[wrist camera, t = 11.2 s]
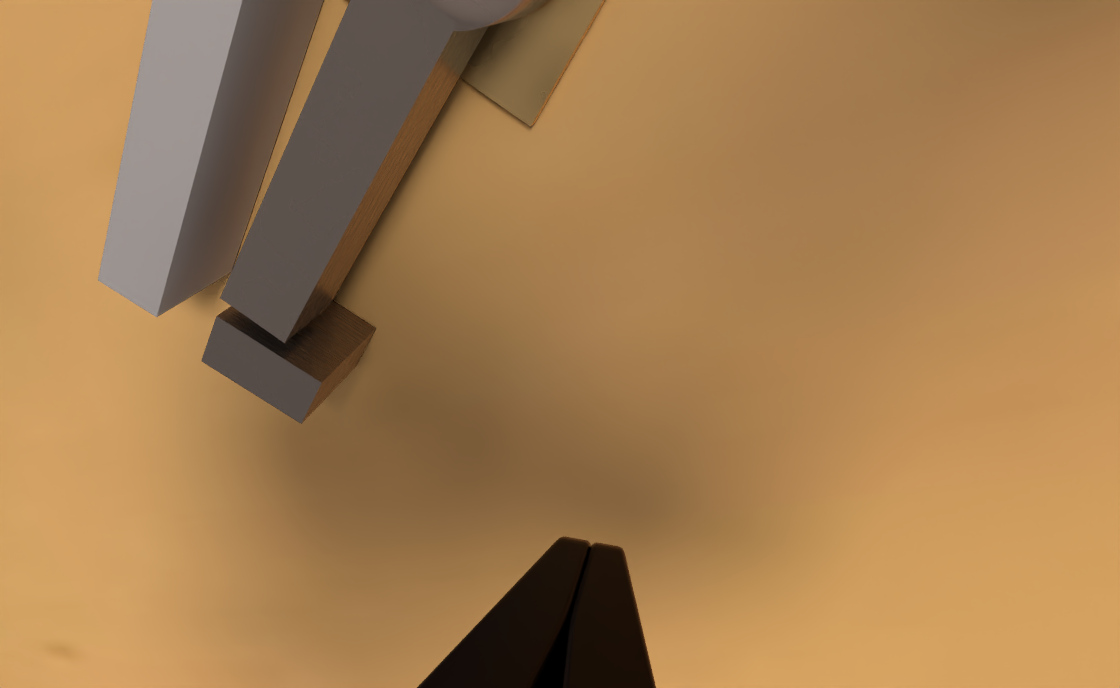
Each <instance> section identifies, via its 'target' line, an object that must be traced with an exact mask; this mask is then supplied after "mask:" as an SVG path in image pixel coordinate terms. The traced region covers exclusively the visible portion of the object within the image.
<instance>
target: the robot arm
mask: <svg viewBox="0 0 1120 688" xmlns="http://www.w3.org/2000/svg"><path fill="white" fill-rule="evenodd" d="M417 688H656V686H655V681H654V677H653V673H652V669H651V664H650V660H649V656H648V651H647V647H646V643H645V639H644V634H643V630H642V626H641V621H640V617H639V613H638V609H637V604H636V600H635V596H634V591H633V587H632V583H631V579H630V574H629V570H628V566H627V561H626V557H625V553H624V551H623V549H622V548H621V547H619V546H613V545H608V544H603V543H594V544H593V545H592V546H591V544H590V543H589V542H588V541H586V540H581V539H576V538H570V537H561V538H559V539H558V540H557V541H556V542H555V543H554V544H553V545H552V546H551V547H550V548H549V549H548V550H547V551H546V552H545V553H544V554H543V556H542V557H541V558H540V559H539V560H538V561H537V562H536V563H535V564H534V565H533V566H532V567H531V568H530V569H529V570H528V571H527V572H526V573H525V574H524V576H523V577H522V578H521V579H520V580H519V581H518V582H517V583H516V584H515V585H514V586H513V587H512V588H511V589H510V590H509V591H508V592H507V593H506V594H505V596H504V597H503V598H502V599H501V600H500V601H499V602H498V603H497V604H496V605H495V606H494V607H493V608H492V609H491V610H490V611H489V612H488V613H487V615H486V616H485V617H484V618H483V619H482V620H481V621H480V622H479V623H478V624H477V625H476V626H475V627H474V628H473V629H472V630H471V631H470V632H469V633H468V635H467V636H466V637H465V638H464V639H463V640H462V641H461V642H460V643H459V644H458V645H457V646H456V647H455V648H454V649H453V650H452V651H451V652H450V654H449V655H448V656H447V657H446V658H445V659H444V660H443V661H442V662H441V663H440V664H439V665H438V666H437V667H436V668H435V669H434V670H433V671H432V672H431V674H430V675H429V676H428V677H427V678H426V679H425V680H424V681H423V682H422V683H421V684H420V685H419V686H418V687H417Z"/></svg>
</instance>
